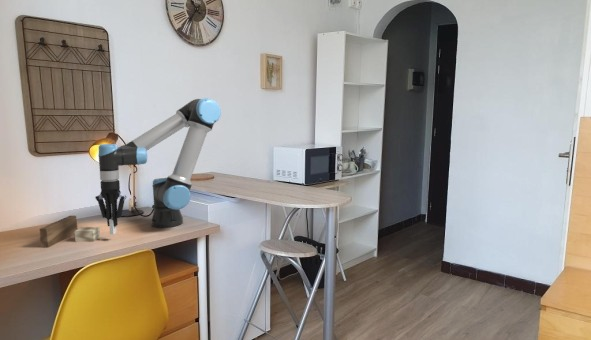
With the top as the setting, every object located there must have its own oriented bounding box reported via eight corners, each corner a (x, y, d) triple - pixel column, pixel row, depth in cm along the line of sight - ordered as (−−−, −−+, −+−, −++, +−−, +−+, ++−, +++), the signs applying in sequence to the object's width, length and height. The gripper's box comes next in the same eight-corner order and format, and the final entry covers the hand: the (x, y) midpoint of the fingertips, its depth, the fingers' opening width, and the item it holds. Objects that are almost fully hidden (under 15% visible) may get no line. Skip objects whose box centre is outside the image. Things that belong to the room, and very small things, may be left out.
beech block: (100, 237, 193) (99, 226, 192) (94, 241, 187) (93, 230, 186) (82, 238, 193) (81, 227, 192) (75, 242, 187) (74, 231, 186)
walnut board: (77, 232, 201) (76, 215, 200) (48, 247, 180) (46, 228, 179) (71, 232, 202) (69, 215, 201) (41, 247, 180) (39, 228, 179)
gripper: (128, 178, 189) (131, 231, 192) (99, 178, 190) (102, 230, 193) (120, 181, 181) (123, 236, 185) (90, 181, 182) (94, 235, 185)
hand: (113, 233), depth 189 cm, fingers closed
